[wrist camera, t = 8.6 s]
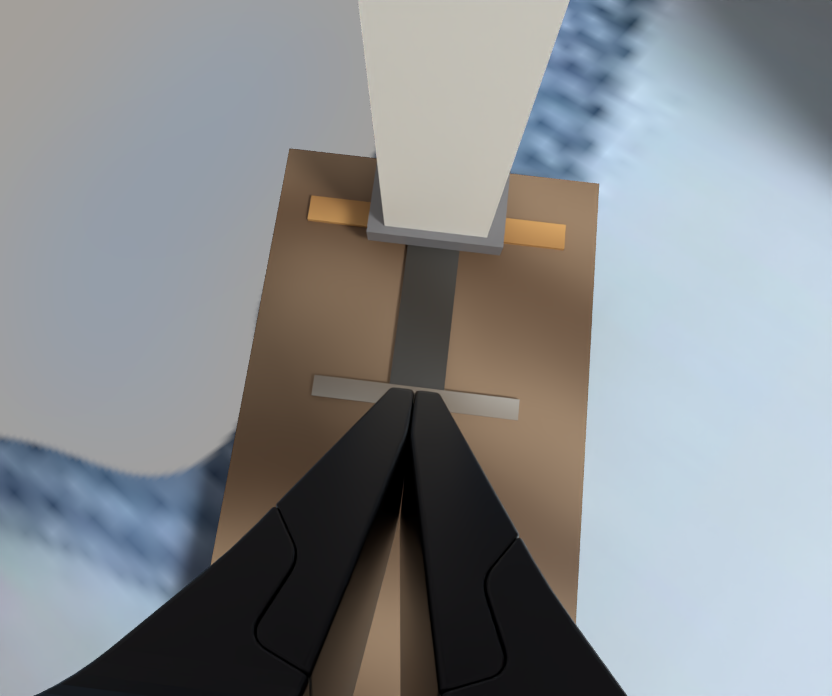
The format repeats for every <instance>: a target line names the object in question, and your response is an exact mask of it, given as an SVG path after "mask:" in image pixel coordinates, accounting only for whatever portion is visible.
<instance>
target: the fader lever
mask: <svg viewBox="0 0 832 696" xmlns="http://www.w3.org/2000/svg"><path fill="white" fill-rule="evenodd" d="M569 1H570V0H358V4H359V12H360V21H361V30H362V38H363V47H364V55H365V64H366V72H367V80H368V89H369V98H370V106H371V114H372V123H373V132H374V140H375V149H376V157H377V164H376V171H375V178H374V184H373V191H372V198H371V204H370V211H369V218H368V224H367V231H366V232H367V237H368V240H372V241H380V242H389V243H398V244H406V245H415V246H423V247H432V248H440V249H449V250H457V251H466V252H475V253H483V254H492V255H500V254H501V252H502V249H503V245H504V234H505V223H506V212H507V201H508V190H509V180H510V170H511V167H512V164H513V161H514V158H515V156H516V153H517V150H518V147H519V144H520V141H521V138H522V135H523V133H524V130H525V127H526V124H527V121H528V118H529V115H530V112H531V110H532V107H533V104H534V101H535V98H536V95H537V92H538V90H539V87H540V84H541V81H542V78H543V75H544V72H545V69H546V67H547V64H548V61H549V58H550V55H551V52H552V49H553V47H554V44H555V41H556V38H557V35H558V32H559V29H560V26H561V24H562V21H563V18H564V15H565V12H566V9H567V6H568V4H569Z"/></svg>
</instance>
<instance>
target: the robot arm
mask: <svg viewBox="0 0 832 696" xmlns="http://www.w3.org/2000/svg"><path fill="white" fill-rule="evenodd" d="M413 402H414V403H413ZM403 484H404V485H403ZM402 492H403V494H402ZM401 500H402V503H401ZM400 507H401V513H400ZM399 514H400V696H627V694H626V693H625V692H624V690H623V689H622V688H621V686H620V685H619V683H618V682H617V681H616V679H615V678H614V677H613V675H612V674H611V672H610V671H609V670H608V668H607V667H606V665H605V664H604V663H603V661H602V660H601V659H600V657H599V656H598V654H597V653H596V652H595V650H594V649H593V648H592V646H591V645H590V643H589V642H588V641H587V639H586V638H585V636H584V635H583V634H582V632H581V631H580V630H579V628H578V627H577V625H576V624H575V622H574V621H573V620H572V618H571V617H570V615H569V614H568V612H567V611H566V609H565V608H564V607H563V605H562V604H561V602H560V601H559V599H558V598H557V596H556V595H555V594H554V592H553V591H552V589H551V587H550V586H549V584H548V582H547V581H546V579H545V577H544V576H543V574H542V573H541V571H540V569H539V568H538V566H537V564H536V563H535V561H534V559H533V558H532V556H531V554H530V552H529V550H528V549H527V547H526V545H525V543H524V541H523V540H522V539H521V538H519V533H518V531H517V530H516V528H515V526H514V524H513V522H512V521H511V519H510V517H509V515H508V514H507V512H506V510H505V508H504V507H503V505H502V503H501V501H500V500H499V498H498V496H497V494H496V492H495V491H494V489H493V487H492V485H491V484H490V482H489V480H488V478H487V477H486V475H485V473H484V471H483V469H482V468H481V466H480V464H479V462H478V461H477V459H476V457H475V455H474V454H473V452H472V450H471V448H470V447H469V445H468V443H467V441H466V439H465V438H464V436H463V434H462V432H461V431H460V429H459V427H458V425H457V424H456V422H455V420H454V418H453V416H452V415H451V413H450V411H449V409H448V408H447V406H446V404H445V402H444V401H443V399H442V397H441V395H440V394H439V393H437V392H429V391H420V390H418V391H416V392H415V395H414V391H413V390H411V389H404V388H396V387H392V388H390V389H389V390H388V391H387V392H386V393H385V394H384V395H383V396H382V397H381V398H380V399H379V400H378V401H377V402H376V403H375V404H374V405H373V406H372V407H371V408H370V409H369V410H368V411H367V412H366V413H365V414H364V415H363V416H362V417H361V418H360V419H359V420H358V421H357V422H356V423H355V424H354V425H353V426H352V427H351V428H350V429H349V430H348V431H347V432H346V433H345V434H344V435H343V436H342V437H341V438H340V439H339V440H338V441H337V442H336V443H335V445H334V446H333V447H332V448H331V449H330V450H329V451H328V452H327V453H326V454H325V455H324V456H323V457H322V458H321V459H320V460H319V461H318V462H317V463H316V464H315V465H314V466H313V467H312V468H311V469H310V470H309V471H308V472H307V473H306V474H305V475H304V476H303V477H302V478H301V479H300V480H299V481H298V482H297V483H296V484H295V485H294V486H293V487H292V488H291V489H290V490H289V491H288V492H287V493H286V494H285V495H284V496H283V497H282V498H281V499H280V501H279V502H278V503H277V504H276V507H272V508H271V509H270V510H269V511H268V512H267V513H266V514H265V515H264V516H263V518H262V519H261V520H260V521H259V522H258V523H257V524H256V525H255V526H254V527H253V528H251V529H250V530H249V531H248V532H247V533H246V534H245V535H244V536H243V537H242V538H241V539H240V540H239V541H238V542H237V543H236V544H235V545H234V546H233V547H232V548H231V549H229V550H228V551H227V552H226V553H225V554H224V555H222V556H221V557H220V558H219V559H218V560H217V561H215V562H214V563H213V564H212V565H211V566H210V567H208V568H207V569H206V570H205V571H204V572H203V573H201V574H200V575H199V576H198V577H197V578H196V579H194V580H193V581H192V582H191V583H189V584H188V585H187V586H186V587H185V588H183V589H182V590H181V591H180V592H178V593H177V594H176V595H175V596H174V597H172V598H171V599H170V600H169V601H167V602H166V603H165V604H164V605H163V606H161V607H160V608H159V609H158V610H156V611H155V612H154V613H153V614H151V615H150V616H149V617H148V618H147V619H145V620H144V621H143V622H142V623H140V624H139V625H138V626H137V627H136V628H134V629H133V630H132V631H131V632H129V633H128V634H127V635H126V636H125V637H123V638H122V639H121V640H120V641H118V642H117V643H116V644H115V645H114V646H112V647H111V648H110V649H109V650H107V651H106V652H105V653H103V654H102V655H101V656H100V657H98V658H97V659H96V660H94V661H93V662H91V663H90V664H89V665H87V666H86V667H84V668H83V669H81V670H80V671H78V672H77V673H75V674H74V675H72V676H70V677H69V678H67V679H65V680H64V681H62V682H60V683H59V684H57V685H55V686H53V687H51V688H49V689H47V690H45V691H43V692H41V693H39V694H37V695H34V696H353V694H354V690H355V686H356V682H357V678H358V675H359V671H360V667H361V663H362V659H363V655H364V652H365V648H366V644H367V640H368V636H369V632H370V628H371V625H372V621H373V617H374V613H375V609H376V605H377V601H378V598H379V594H380V590H381V586H382V582H383V578H384V575H385V571H386V567H387V563H388V559H389V555H390V551H391V548H392V544H393V540H394V536H395V532H396V528H397V524H398V519H399Z"/></svg>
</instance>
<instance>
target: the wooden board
mask: <svg viewBox="0 0 832 696" xmlns="http://www.w3.org/2000/svg"><path fill="white" fill-rule="evenodd" d="M376 164H377V158H369V157H360V156H350V155H342V154H333V153H325V152H316V151H308V150H299V149H289V154H288V160H287V165H286V170H285V175H284V181H283V186H282V191H281V196H280V202H279V207H278V212H277V218H276V223H275V228H274V234H273V239H272V244H271V249H270V254H269V260H268V265H267V270H266V275H265V281H264V286H263V291H262V297H261V302H260V307H259V312H258V318H257V323H256V328H255V334H254V339H253V344H252V349H251V355H250V360H249V365H248V371H247V376H246V381H245V387H244V392H243V397H242V402H241V408H240V413H239V418H238V423H237V429H236V434H235V439H234V444H233V450H232V455H231V460H230V466H229V471H228V476H227V481H226V487H225V492H224V497H223V503H222V508H221V513H220V518H219V524H218V529H217V534H216V540H215V545H214V550H213V555H212V561H211V565H212V564H213V563H214V562H215V561H217V560H218V559H219V558H220V557H221V556H222V555H224V554H225V553H226V552H227V551H228V550H229V549H231V548H232V547H233V546H234V545H235V544H236V543H237V542H238V541H239V540H240V539H241V538H242V537H243V536H244V535H245V534H246V533H247V532H248V531H249V530H250V529H251V528H253V527H254V526H255V525H256V524H257V523H258V522H259V521H260V520H261V519H262V518H263V516H264V515H265V514H266V513H267V512H268V511H269V510H270V509H271V508H272V507H276V504H277V503H278V502H279V501H280V499H281V498H282V497H283V496H284V495H285V494H286V493H287V492H288V491H289V490H290V489H291V488H292V487H293V486H294V485H295V484H296V483H297V482H298V481H299V480H300V479H301V478H302V477H303V476H304V475H305V474H306V473H307V472H308V471H309V470H310V469H311V468H312V467H313V466H314V465H315V464H316V463H317V462H318V461H319V460H320V459H321V458H322V457H323V456H324V455H325V454H326V453H327V452H328V451H329V450H330V449H331V448H332V447H333V446H334V445H335V443H336V442H337V441H338V440H339V439H340V438H341V437H342V436H343V435H344V434H345V433H346V432H347V431H348V430H349V429H350V428H351V427H352V426H353V425H354V424H355V423H356V422H357V421H358V420H359V419H360V418H361V417H362V416H363V415H364V414H365V413H366V412H367V411H368V410H369V409H370V408H371V407H372V406H373V405H374V404H375V403H376V402H377V401H378V400H379V399H380V398H381V397H382V396H383V395H384V394H385V393H386V392H387V391H388V390H389V389H390V388H392V387H396V388H404V389H411V390H413V391H414V395H415V392H416V391H418V390H420V391H429V392H437V393H439V394H440V395H441V397H442V399H443V401H444V402H445V404H446V406H447V408H448V409H449V411H450V413H451V415H452V416H453V418H454V420H455V422H456V424H457V425H458V427H459V429H460V431H461V432H462V434H463V436H464V438H465V439H466V441H467V443H468V445H469V447H470V448H471V450H472V452H473V454H474V455H475V457H476V459H477V461H478V462H479V464H480V466H481V468H482V469H483V471H484V473H485V475H486V477H487V478H488V480H489V482H490V484H491V485H492V487H493V489H494V491H495V492H496V494H497V496H498V498H499V500H500V501H501V503H502V505H503V507H504V508H505V510H506V512H507V514H508V515H509V517H510V519H511V521H512V522H513V524H514V526H515V528H516V530H517V531H518V533H519V538H521V539H522V540H523V541H524V543H525V545H526V547H527V549H528V550H529V552H530V554H531V556H532V558H533V559H534V561H535V563H536V564H537V566H538V568H539V569H540V571H541V573H542V574H543V576H544V577H545V579H546V581H547V582H548V584H549V586H550V587H551V589H552V591H553V592H554V594H555V595H556V596H557V598H558V599H559V601H560V602H561V604H562V605H563V607H564V608H565V609H566V611H567V612H568V614H569V615H570V617H571V618H572V620H573V621H574V622H575V624H576V609H577V590H578V571H579V552H580V533H581V514H582V496H583V477H584V458H585V439H586V420H587V402H588V383H589V364H590V345H591V326H592V307H593V289H594V270H595V251H596V232H597V213H598V194H599V184H596V183H588V182H579V181H570V180H561V179H553V178H544V177H535V176H526V175H518V174H510V180H509V190H508V201H507V212H506V223H505V234H504V245H503V249H502V252H501V254H500V255H492V254H483V253H475V252H466V251H457V250H449V249H440V248H432V247H423V246H415V245H406V244H398V243H389V242H380V241H372V240H368V237H367V232H366V231H367V224H368V218H369V211H370V204H371V198H372V191H373V184H374V178H375V171H376ZM413 403H414V402H413ZM403 485H404V484H403ZM402 494H403V492H402ZM401 503H402V500H401ZM400 513H401V507H400ZM353 696H400V514H399V519H398V524H397V528H396V532H395V536H394V540H393V544H392V548H391V551H390V555H389V559H388V563H387V567H386V571H385V575H384V578H383V582H382V586H381V590H380V594H379V598H378V601H377V605H376V609H375V613H374V617H373V621H372V625H371V628H370V632H369V636H368V640H367V644H366V648H365V652H364V655H363V659H362V663H361V667H360V671H359V675H358V678H357V682H356V686H355V690H354V694H353Z"/></svg>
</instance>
